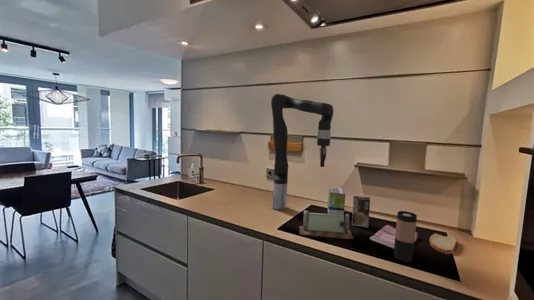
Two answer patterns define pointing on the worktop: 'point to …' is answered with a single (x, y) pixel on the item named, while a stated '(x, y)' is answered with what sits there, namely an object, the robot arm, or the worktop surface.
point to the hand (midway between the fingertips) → (322, 166)
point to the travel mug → (405, 236)
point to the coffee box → (361, 211)
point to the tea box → (336, 201)
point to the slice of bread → (443, 243)
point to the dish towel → (386, 236)
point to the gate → (325, 222)
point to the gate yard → (345, 234)
